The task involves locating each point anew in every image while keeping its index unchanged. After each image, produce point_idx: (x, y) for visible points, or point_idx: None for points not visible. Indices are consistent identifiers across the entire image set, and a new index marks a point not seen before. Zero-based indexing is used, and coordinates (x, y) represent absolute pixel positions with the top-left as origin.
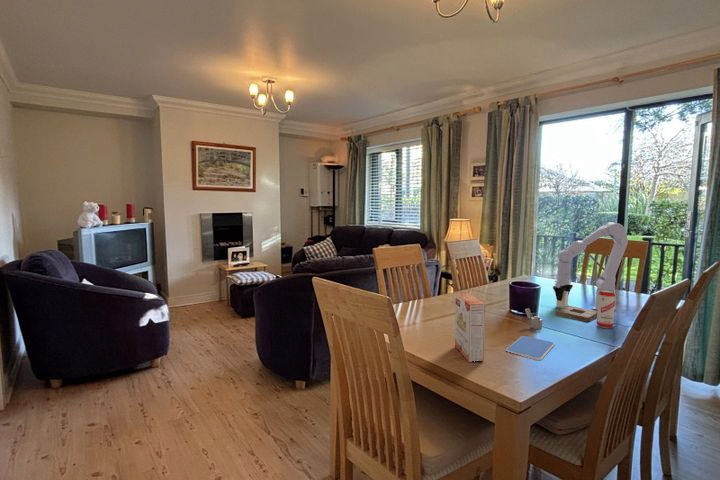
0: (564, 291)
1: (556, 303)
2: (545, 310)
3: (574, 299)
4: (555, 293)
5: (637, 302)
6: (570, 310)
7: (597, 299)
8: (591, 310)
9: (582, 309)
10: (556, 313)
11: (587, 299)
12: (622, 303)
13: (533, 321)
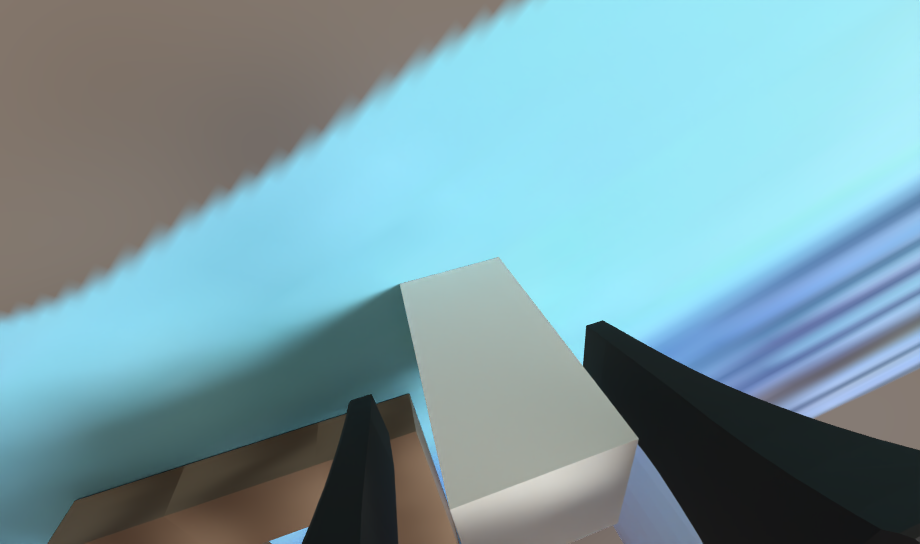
0: (573, 518)
1: (405, 307)
2: (44, 367)
3: (835, 182)
4: (304, 542)
5: (877, 387)
6: (265, 539)
7: (645, 529)
8: (444, 541)
9: (406, 525)
10: (68, 521)
11: (872, 240)
12: (829, 381)
13: None
